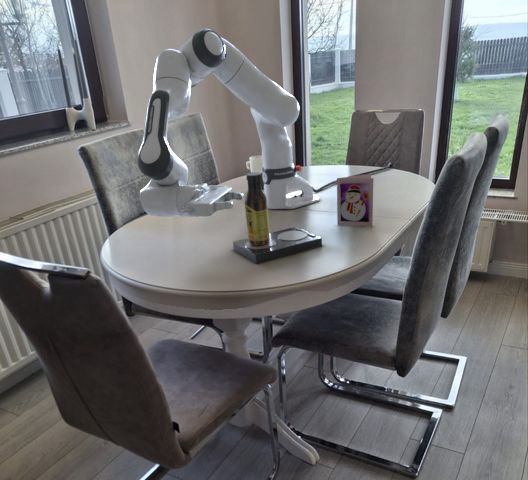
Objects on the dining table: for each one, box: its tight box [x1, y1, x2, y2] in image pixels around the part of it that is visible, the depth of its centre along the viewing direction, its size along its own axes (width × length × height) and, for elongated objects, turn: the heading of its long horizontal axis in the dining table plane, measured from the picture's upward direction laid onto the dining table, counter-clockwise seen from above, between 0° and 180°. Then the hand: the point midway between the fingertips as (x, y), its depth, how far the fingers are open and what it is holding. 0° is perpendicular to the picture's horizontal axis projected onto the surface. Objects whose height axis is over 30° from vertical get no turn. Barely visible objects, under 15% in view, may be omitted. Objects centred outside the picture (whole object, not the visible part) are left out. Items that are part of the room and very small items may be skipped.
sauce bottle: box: [244, 172, 270, 246], centre depth 144 cm, size 6×6×20 cm
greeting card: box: [336, 173, 374, 227], centre depth 163 cm, size 11×7×15 cm, turn 68°
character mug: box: [245, 154, 264, 189], centre depth 220 cm, size 11×7×13 cm, turn 71°
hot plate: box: [232, 226, 323, 264], centre depth 151 cm, size 22×15×3 cm
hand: (237, 200), depth 144 cm, fingers open, 8 cm apart
